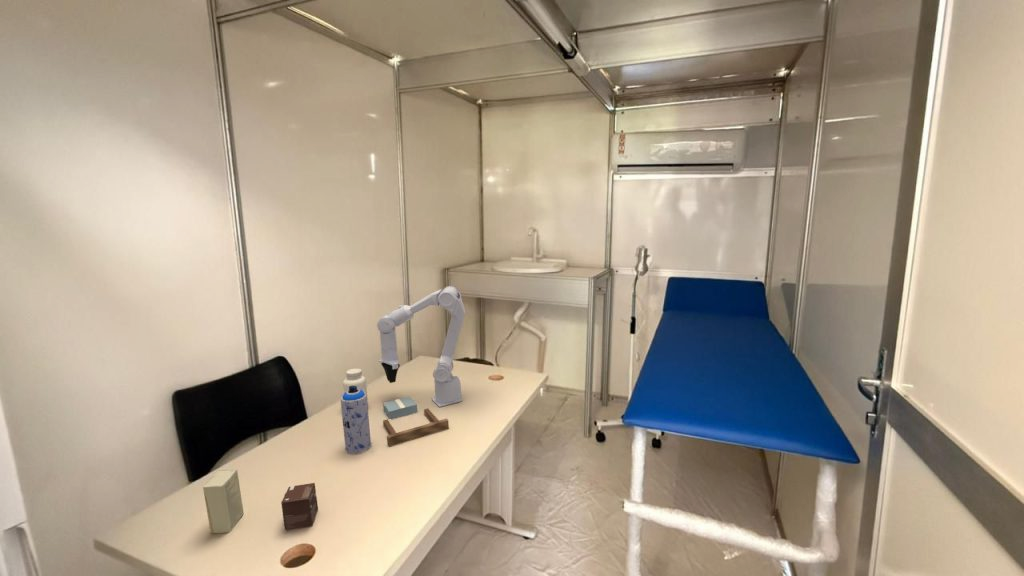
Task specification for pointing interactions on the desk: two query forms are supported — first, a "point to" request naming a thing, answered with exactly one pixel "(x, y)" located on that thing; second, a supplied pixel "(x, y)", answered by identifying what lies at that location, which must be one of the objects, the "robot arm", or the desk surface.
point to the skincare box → (223, 501)
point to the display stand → (415, 429)
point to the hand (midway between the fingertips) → (391, 381)
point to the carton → (400, 407)
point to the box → (299, 506)
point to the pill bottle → (355, 380)
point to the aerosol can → (355, 421)
